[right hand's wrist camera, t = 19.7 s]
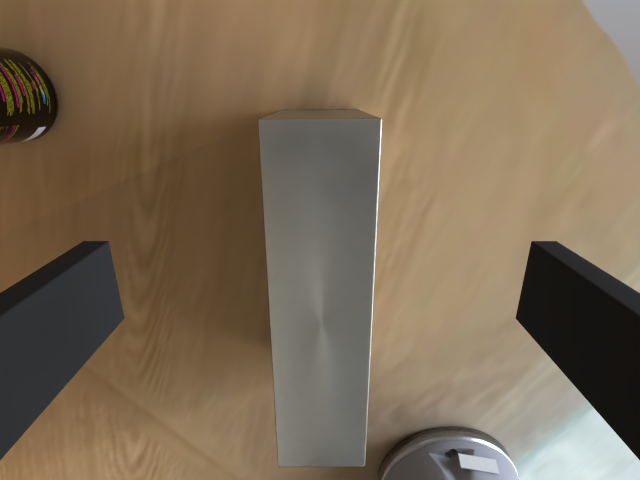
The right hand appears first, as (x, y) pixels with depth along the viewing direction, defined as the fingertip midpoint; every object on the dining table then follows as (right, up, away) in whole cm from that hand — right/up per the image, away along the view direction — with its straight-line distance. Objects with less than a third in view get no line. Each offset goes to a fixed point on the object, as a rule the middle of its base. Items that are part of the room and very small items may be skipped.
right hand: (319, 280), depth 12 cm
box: (0, +1, +22) cm, 22 cm away
